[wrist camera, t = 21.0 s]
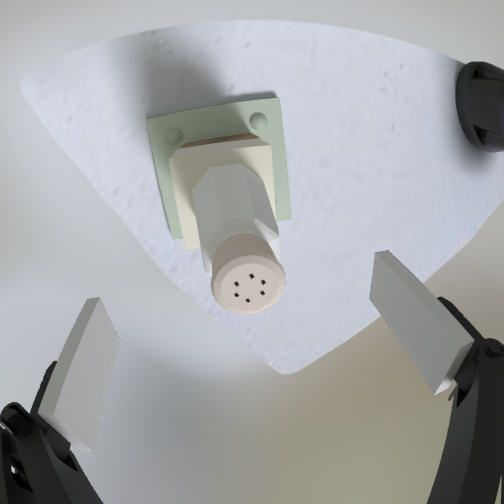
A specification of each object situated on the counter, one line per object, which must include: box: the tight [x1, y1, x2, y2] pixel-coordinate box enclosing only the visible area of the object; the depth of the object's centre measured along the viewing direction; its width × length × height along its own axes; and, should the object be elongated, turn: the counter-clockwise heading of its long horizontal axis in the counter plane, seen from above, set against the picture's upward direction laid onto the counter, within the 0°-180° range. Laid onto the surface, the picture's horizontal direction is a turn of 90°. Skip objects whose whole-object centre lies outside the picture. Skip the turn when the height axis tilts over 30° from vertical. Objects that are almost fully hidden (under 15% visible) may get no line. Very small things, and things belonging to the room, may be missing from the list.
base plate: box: [146, 98, 291, 239], centre depth 30 cm, size 14×14×1 cm
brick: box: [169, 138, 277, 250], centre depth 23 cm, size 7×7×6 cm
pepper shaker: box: [192, 164, 286, 314], centre depth 15 cm, size 5×5×11 cm
